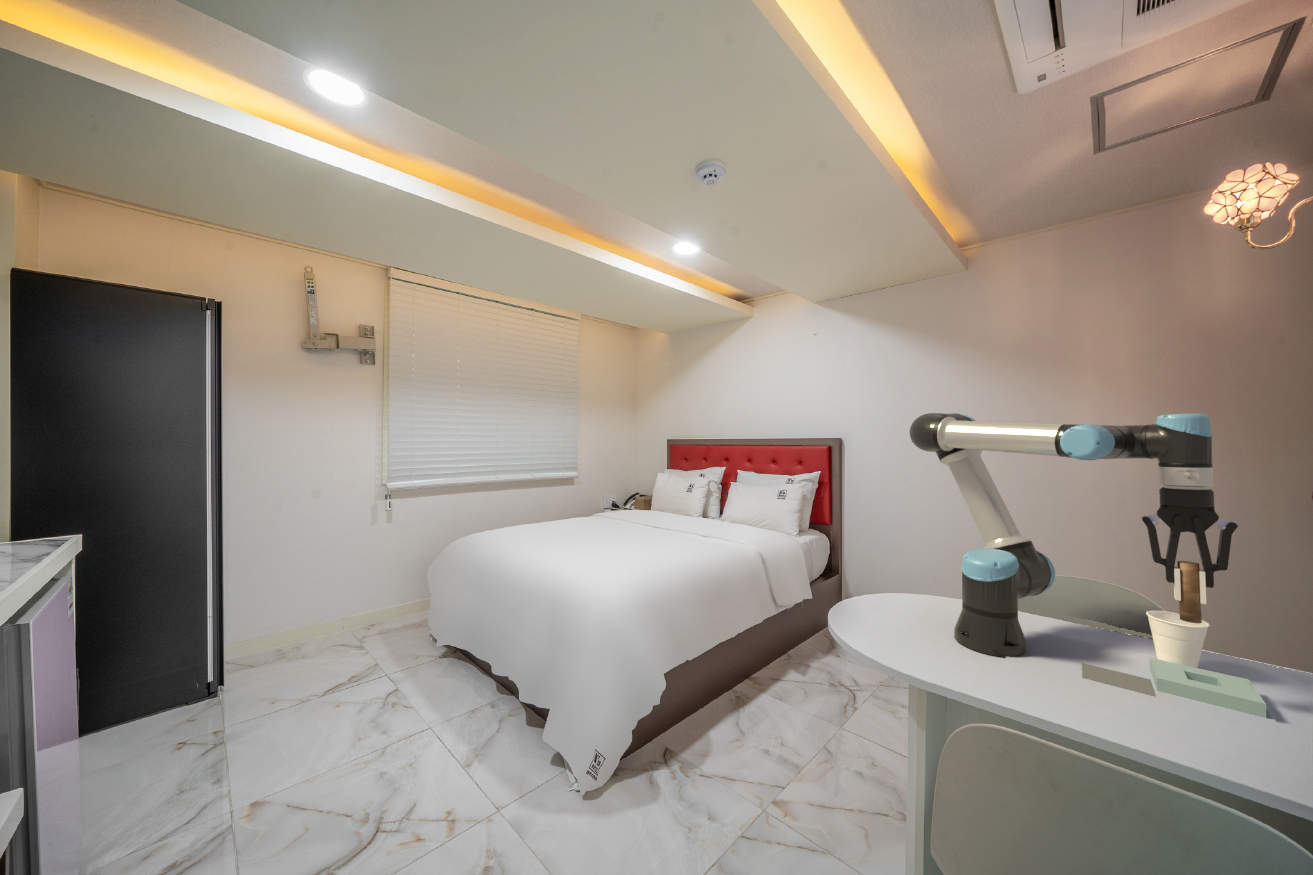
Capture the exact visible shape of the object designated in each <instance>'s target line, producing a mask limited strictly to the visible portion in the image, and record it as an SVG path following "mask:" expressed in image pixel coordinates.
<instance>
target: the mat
mask: <svg viewBox="0 0 1313 875" xmlns="http://www.w3.org/2000/svg"><path fill="white" fill-rule="evenodd" d="M1081 678H1082V679H1085V680H1089V681H1094V682H1096V683H1100V684H1101V683H1102V684H1104V685H1109V686H1113V687H1117V688H1120V689H1125V690H1128V691H1131V692H1134V693H1140V694H1142V695H1143V694H1144V695H1146V696H1147V695H1148V696H1151V697H1154V698H1156V693H1155V691H1154V687H1153V683H1152V680H1151V679H1150V678H1146V677H1142V676H1137V675H1133V674H1130V673H1129V674H1128V673H1125V672H1122V671H1117V670H1113V669H1109V668H1105V667H1100V666H1096V665H1092V664H1087V663H1084V662H1081Z"/></svg>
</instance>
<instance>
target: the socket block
mask: <svg viewBox="0 0 1313 875" xmlns="http://www.w3.org/2000/svg"><path fill="white" fill-rule="evenodd" d="M1149 671H1150V673H1151V677H1152V680H1153V682H1154V686H1155V690H1156V691H1158V692H1161V693H1163V694H1169V695H1172V696H1177V697H1181V698H1185V699H1188V700H1193V701H1196V702H1200V703H1205V704H1209V705H1212V706H1215V707H1220V708H1224V709H1229V710H1232V711H1236V712H1240V713H1244V714H1249V715H1253V716H1257V717H1260V718H1264V719H1267V703H1266V702H1265V701H1264V699H1263V698H1262V696H1261V695H1260V694H1259V692H1258V691H1257V689H1256V688H1255V687H1254V685H1253V684H1252V683H1251V681H1250V680H1249V679H1248V678H1244V677H1240V676H1235V675H1229V674H1227V673H1222V672H1217V671H1213V670H1208V669H1203V668H1199V667H1197V668H1195V667H1190V666H1186V665H1181V664H1176V663H1172V662H1167V661H1163V660H1158V659H1157V658H1154V657H1149Z"/></svg>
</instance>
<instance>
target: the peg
mask: <svg viewBox="0 0 1313 875" xmlns="http://www.w3.org/2000/svg"><path fill="white" fill-rule="evenodd" d="M1176 561H1177V560H1176ZM1177 567H1178V568H1179V569H1180V587H1181V601H1179V600H1178V607H1179V609H1178V610H1179V614H1180V620H1183V621H1186V622H1190V623H1202V620H1203V618H1202V604H1201V603H1200V584H1199V571H1200V569H1201V568H1200V563H1199V562H1194V561H1188V560H1186V561H1185V560H1178V561H1177Z"/></svg>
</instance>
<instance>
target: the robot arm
mask: <svg viewBox="0 0 1313 875" xmlns="http://www.w3.org/2000/svg"><path fill="white" fill-rule="evenodd" d="M909 436H910V440H911V442H912V443H913V445H914V446H915V447H917V448H918V449H920V450H922V451H925V452H930V453H932V452H933V453H936V456H937V458H938V460H939V462H940V464H943V465H946V466H947V467H949V470H950V472H951V474H952V476H953V478H954V480H955V483H956V484H957V487H958V489H959V491H960V493H961V495H962V497H963V499H964V502H965V504H966V505H967V508H968V510H969V512H970V514H971V516H972V519H973V520H974V523H975V524H976V527H977V528H978V531H979V533H980V535H981V538H982V539H983V541H984V547H983V548H977V549H972V550H968V551H967V552H966V553H964V554H963V556H962V563H961V579H962V580H961V584H962V586H961V591H962V592H961V595H962V596H961V597H962V598H961V599H962V601H961V602H962V603H961V604H962V605H961V606H962V607H961V610H960V614H959V616H958V619H957V621H956V623H955V626H954V631H953V632H954V633H953V635H954V639H955V641H956V640H957V641H956V642H958V643H959V644H960V645H962V646H963V647H966V648H968V649H970V650H972V651H975V652H978V653H981V654H986V655H989V656H996V657H1002V658H1007V657H1009V658H1012V657H1013V658H1015V657H1022V656H1024V655H1026V654H1027V652H1028V643H1027V640H1026V637H1025V635H1024V632H1023V628H1022V627H1021V624H1020V622H1019V600H1021V599H1024V598H1029V597H1034V596H1038V595H1041V594H1042V593H1044V592H1047V590H1049V589H1050V588H1052V586H1053V584H1054V583H1055V579H1056V570H1055V566H1054V564H1053V563H1052V561H1051V560H1050V558H1049V557H1048V556H1047V555H1045V554H1044V553H1042V552H1040V551H1038V550H1036V547H1035V545H1034V543H1033V542H1032V540H1031V539H1030V538H1027V537H1025V536H1023V535H1022V534H1021V533H1020V531H1019V529H1018V526H1017V524H1016V523H1015V521H1014V519H1013V517H1012V515H1011V512H1010V511H1009V509H1008V506H1007V505H1006V504H1005V501H1004V500H1003V497H1002V495H1001V493H1000V491H999V490H998V488H997V485H996V484H995V481H994V480H993V478H992V476H991V474H990V471H989V470H988V468H987V466H986V464H985V462H984V461H983V458H982V456H981V455H982V452H983V451H990V452H1001V453H1012V454H1025V455H1036V456H1047V457H1060V458H1067V459H1068V458H1069V459H1070V458H1071V459H1075V460H1076V459H1077V460H1080V461H1097V460H1114V459H1117V460H1118V459H1150V460H1151V459H1152V460H1153V459H1157V461H1158V464H1157V466H1158V484H1159V485H1160V486H1162V487H1160V489H1159V508H1158V509H1157V511H1156V513H1154V514H1153V513H1152V514H1150V515H1142V517H1141V521H1142V522H1143V523H1144V525H1145V526H1146V530H1147V534H1148V539H1149V545H1150V550H1151V557H1152V560H1153V562H1154V563H1155V564H1160V565H1162V566H1163V567H1165V570H1164V571H1165V580H1166V581H1167V583H1171V584H1173V597H1174V600H1175V601H1178V602H1179V601H1181V587H1180V569H1179V568H1178V566H1175V564H1176V561H1177V554H1178V549H1179V542H1180V538H1181V535H1182V534H1181V533H1187V532H1188V533H1192V534H1194V538H1195V540H1196V545H1197V548H1198V552H1199V558H1200V561H1201V564H1202V569H1201V568H1199V569H1200V571H1199V584H1200V603H1201V605H1207V588H1211V589H1213V588H1214V587H1215V579H1214V578H1215V577H1214V574H1215V572H1220V571H1227V570H1228V567H1229V562H1230V561H1229V559H1230V552H1231V551H1230V550H1231V543H1232V538H1233V533H1234V532H1235V531H1236V530H1237V529H1238V523H1236V522H1234V521H1231V520H1229V521H1228V520H1227V519H1225V518H1222V517H1219V515H1218V513H1217V512H1216V509H1215V491H1213V490H1212V489H1210V488H1211V487H1214V473H1213V472H1214V471H1213V470H1214V468H1213V437H1214V436H1213V434H1212V427H1211V419H1210V417H1209V416H1208V415H1207V414H1204V413H1175V414H1174V413H1172V414H1161V415H1158V416H1157V417H1156V422H1155V423H1152V424H1143V425H1142V424H1139V425H1138V424H1137V425H1136V424H1134V425H1132V424H1131V425H1129V424H1128V425H1127V424H1126V425H1108V424H1107V425H1105V424H1103V425H1102V424H1100V425H1099V424H1088V423H1087V424H1085V423H1083V424H1077V423H1076V424H1075V423H1074V424H1069V423H1068V424H1067V423H1044V422H1043V423H1042V422H1041V423H1040V422H1038V423H1037V422H1014V421H1013V422H1012V421H1011V422H1009V421H982V420H980V421H978V420H976V419H974V418H973V417H972V416H969V415H966V414H962V413H958V412H956V413H955V412H954V413H953V412H951V413H950V412H949V413H943V412H942V413H939V412H928V413H924V414H922V415H920V416H918V417H917V418H916V419H914V420H913V421H912V423H911V425H910V428H909ZM1159 519H1160V520H1161V521H1162V522H1163V523H1164V524H1165V525H1166V526H1167V527H1169V537H1168V541H1167V548H1166V554H1165V558H1164V557H1162V554H1161V548H1160V544H1159V537H1158V533H1157V528H1156V526H1157V525H1158V524H1159V522H1158V520H1159ZM1215 523H1217V528H1218V529H1219V537H1218V538H1219V539H1218V544H1217V545H1218V546H1217V553H1216V562H1215V563H1214V562H1213V561H1212V557H1211V553H1210V549H1209V545H1208V544H1209V543H1208V540H1207V534H1206V531H1207V530H1208V529H1210V528H1211V527H1212V526H1213V525H1215Z"/></svg>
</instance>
